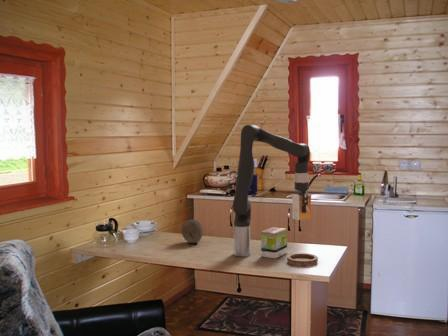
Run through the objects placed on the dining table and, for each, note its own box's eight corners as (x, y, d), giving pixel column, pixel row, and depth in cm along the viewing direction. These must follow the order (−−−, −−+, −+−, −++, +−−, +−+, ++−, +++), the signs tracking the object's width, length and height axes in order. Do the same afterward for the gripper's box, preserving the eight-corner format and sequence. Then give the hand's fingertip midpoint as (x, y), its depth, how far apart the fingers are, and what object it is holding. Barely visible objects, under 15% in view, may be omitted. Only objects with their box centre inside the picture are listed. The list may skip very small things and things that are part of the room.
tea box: (276, 259, 275) (276, 233, 274) (260, 256, 280) (260, 231, 279) (287, 252, 288) (287, 228, 286) (272, 250, 293) (272, 226, 292)
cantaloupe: (208, 242, 317) (207, 219, 315) (192, 246, 306) (192, 223, 305) (192, 239, 326) (191, 217, 324) (176, 243, 315) (176, 220, 314)
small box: (299, 220, 261) (299, 196, 259) (292, 218, 266) (291, 194, 265) (311, 218, 265) (311, 194, 263) (303, 217, 270) (303, 193, 269)
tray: (292, 267, 259) (292, 261, 258) (284, 259, 274) (284, 254, 274) (321, 265, 261) (321, 260, 261) (311, 257, 277) (311, 252, 277)
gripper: (291, 179, 270) (291, 209, 272) (298, 182, 256) (298, 213, 257) (304, 179, 271) (304, 208, 273) (312, 182, 257) (312, 213, 259)
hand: (301, 211), depth 265 cm, fingers closed on small box, 7 cm apart
